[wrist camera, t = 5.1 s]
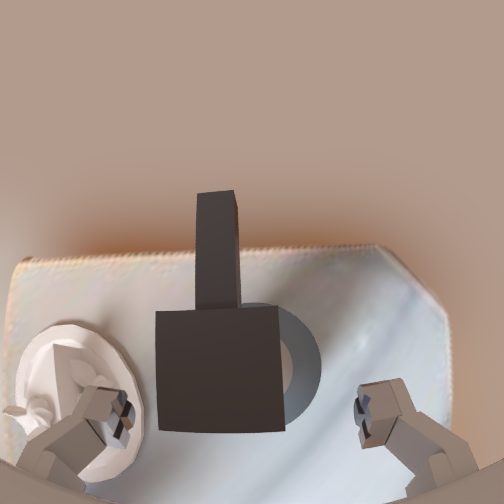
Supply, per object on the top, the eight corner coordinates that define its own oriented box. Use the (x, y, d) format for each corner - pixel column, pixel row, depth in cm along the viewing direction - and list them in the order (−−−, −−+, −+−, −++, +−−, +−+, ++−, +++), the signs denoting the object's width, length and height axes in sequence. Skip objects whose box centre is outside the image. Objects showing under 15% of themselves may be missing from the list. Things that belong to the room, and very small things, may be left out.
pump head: (281, 406, 14) (285, 431, 8) (202, 408, 14) (158, 430, 8) (270, 245, 17) (267, 182, 11) (198, 251, 17) (162, 193, 12)
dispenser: (311, 409, 35) (339, 441, 18) (215, 414, 35) (171, 446, 19) (305, 317, 39) (327, 280, 23) (211, 323, 40) (167, 290, 23)
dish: (134, 504, 31) (97, 533, 20) (14, 436, 34) (-30, 440, 23) (161, 353, 39) (123, 346, 28) (35, 308, 42) (-11, 290, 32)
